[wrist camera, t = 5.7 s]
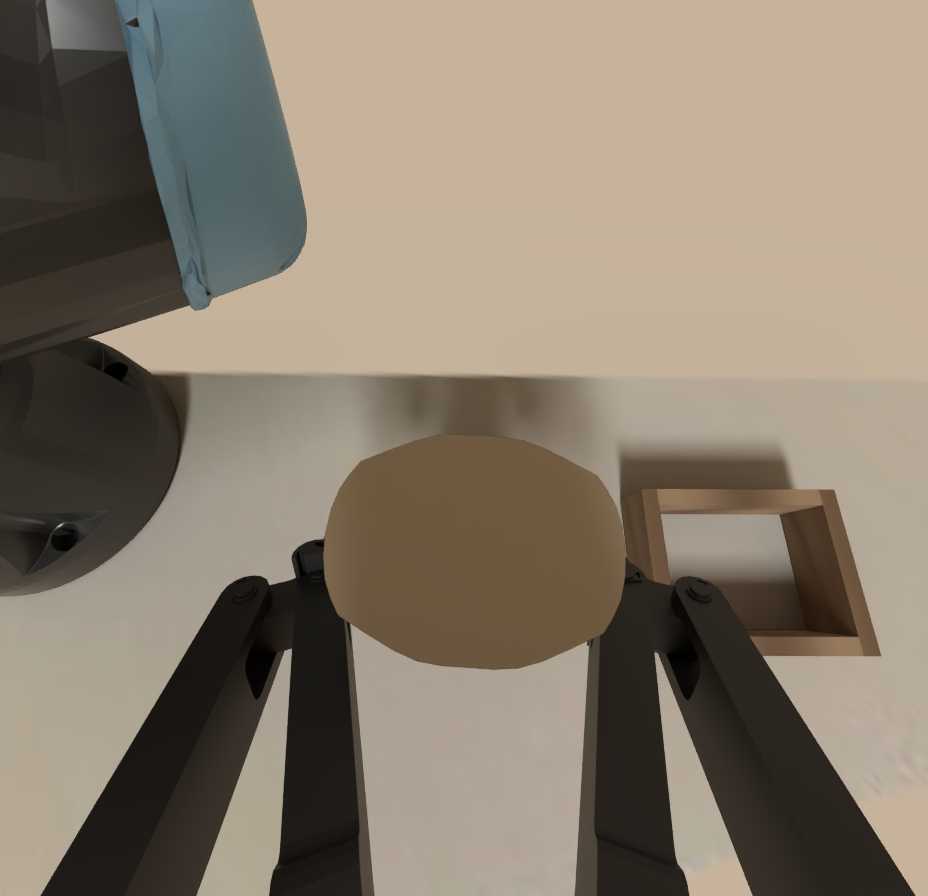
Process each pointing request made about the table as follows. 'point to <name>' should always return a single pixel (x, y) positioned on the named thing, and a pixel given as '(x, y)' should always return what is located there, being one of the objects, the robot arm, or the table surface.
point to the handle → (475, 552)
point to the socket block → (811, 551)
